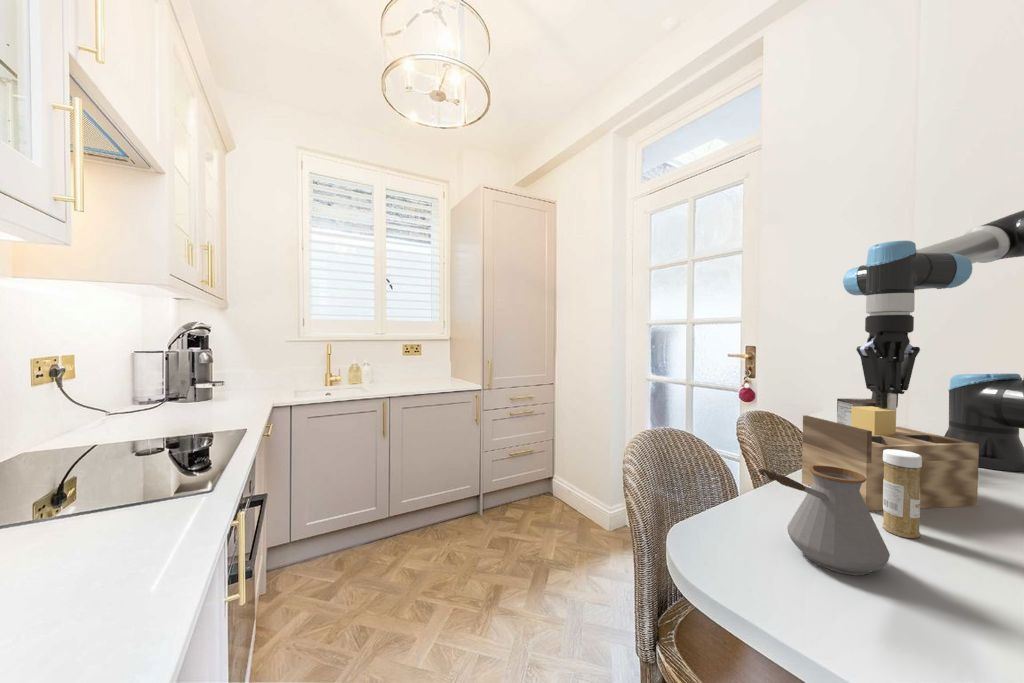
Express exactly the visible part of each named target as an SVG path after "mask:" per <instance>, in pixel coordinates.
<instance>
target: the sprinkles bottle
mask: <svg viewBox="0 0 1024 683" xmlns="http://www.w3.org/2000/svg"><path fill="white" fill-rule="evenodd" d="M883 461H884V462H883V463H884V479H883V509H884V510H883V522H882V524H881V525H882V528H883V529H884V530H885V531H887V532H889V533H891V534H893V535H895V536H898V537H902V538H907V539H917V538H920V536H921V532H920V516H921V508H920V469H921V467H922V457H921V456H920V455H919V454H916V453H913V452H908V451H903V450H894V449H887V450H884V451H883Z"/></svg>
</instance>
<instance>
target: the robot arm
mask: <svg viewBox="0 0 1024 683" xmlns="http://www.w3.org/2000/svg"><path fill="white" fill-rule="evenodd" d="M916 247H917V246H916V243H915V242H914V241H912V240H894V241H892V240H891V241H886V242H881V243H877V244H876V243H875V244H874V245H872V246H870V247H869V248H868V250H867V256H866V257H867V258H866V262H865V265H859V266H856V267H852V268H850V269H849V270H847V271H846V272H845V274H844V275H843V278H842V285H843V287H844V290H845V291H846V292H847V293H848V294H849V295H852V296H866V299H865V300H866V302H865V304H866V305H865V314H868V315H867V316H866V317H865V319H864V321H865V323H864V324H865V325H864V326H865V327H864V331H865V333H868V338H867V340H866V344H864V345H861V346H860V345H859V346H857V347H856V352H857V353H858V355H859V356H860V362H861V366H862V372H863V376H864V381H865V382H864V383H865V387H866V389H867V390H870V392H875V393H876V407H878V408H884V409H889V410H895V411H896V412H897V408H898V406H899V404H898V403H899V395H904V394H905V392H906V391H908V389H909V387H910V382H911V378H912V375H913V369H914V366H915V362H916V358H917V356H918V355H919V353H920V351H921V349H920V347H919V346H913V345H912V344H910V341H911V340H910V338H909V334H910V333H912V332H914V330H915V327H914V324H915V323H914V321H915V316H913V315H912V314H911V313H913V312H915V304H916V303H915V291H919V290H928V289H936V290H942V289H953V288H957V287H960V286H961V285H963V284H965V283H966V282H968V280H969V279H970V278H971V276H972V274H973V264H976V263H979V264H985V263H986V264H987V263H992V262H995V261H999V260H1004V259H1012V258H1019V257H1020V258H1021V257H1024V209H1023V210H1021V211H1017V212H1015V213H1012V214H1009V215H1006V216H1004V217H1001V218H998V219H996V220H992V221H990V222H987V223H985V224H982V225H979V226H976V227H974V228H973V227H972V228H971V229H969V230H968V231H966V232H965V233H964V234H962V235H960V236H957V237H954V238H950V239H948V240H945V241H944V240H943V241H942V242H938V243H935V244H932V245H928V246H925V247H922V248H918V249H917V248H916ZM1020 429H1023V430H1024V378H1022V376H1021V374H1019V373H964V374H963V373H962V374H955V375H953V376H952V377H951V378H950V380H949V388H948V427H947V430H946V432H945V434H944V435H943V436H944V437H949V438H954V439H958V440H963V441H967V442H972V443H977V444H979V457H978V468H984V469H990V470H998V471H1008V472H1024V444H1023V442H1022V440H1021V438H1020Z"/></svg>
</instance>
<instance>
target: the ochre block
mask: <svg viewBox="0 0 1024 683" xmlns="http://www.w3.org/2000/svg"><path fill="white" fill-rule="evenodd" d="M851 426H853V427H857V428H861V429H865V430H869V431H872V434H873V435H886V434H896V427H897V410H896V411H895V410H889V409H884V408H878V407H873V406H861V407H851Z"/></svg>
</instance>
